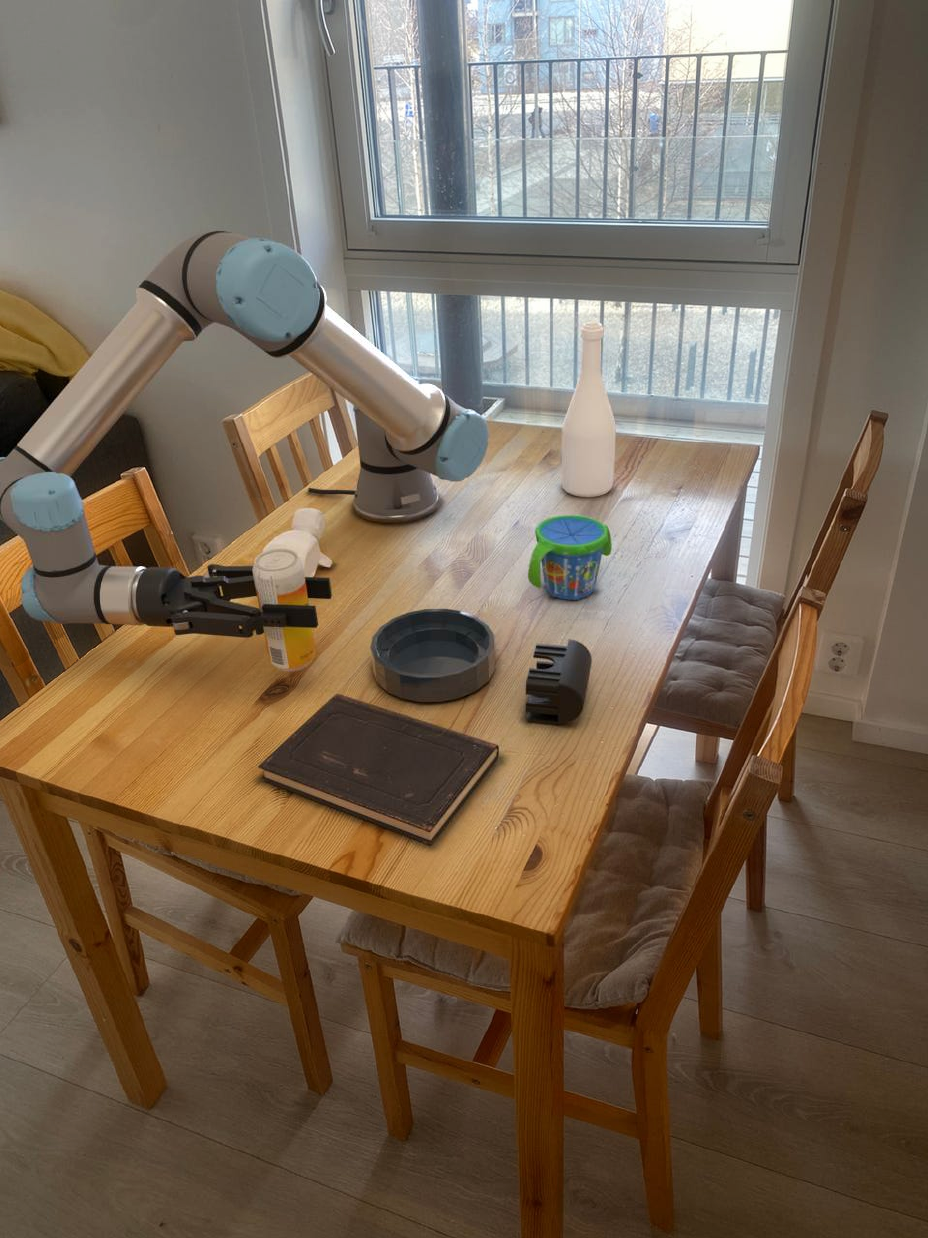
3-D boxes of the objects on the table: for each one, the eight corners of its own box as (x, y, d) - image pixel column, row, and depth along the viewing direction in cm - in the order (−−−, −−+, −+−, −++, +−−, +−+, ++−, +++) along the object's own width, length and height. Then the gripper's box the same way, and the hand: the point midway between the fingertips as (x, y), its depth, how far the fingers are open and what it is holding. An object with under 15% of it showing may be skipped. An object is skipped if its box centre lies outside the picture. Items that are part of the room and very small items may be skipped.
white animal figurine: (314, 606, 149) (345, 535, 157) (298, 572, 142) (332, 499, 150) (265, 599, 151) (299, 529, 159) (247, 565, 144) (284, 494, 152)
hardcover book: (430, 846, 100) (429, 830, 99) (261, 780, 110) (258, 765, 109) (499, 757, 112) (499, 742, 111) (340, 705, 122) (338, 690, 120)
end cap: (582, 731, 115) (584, 686, 112) (525, 725, 117) (525, 680, 113) (591, 683, 124) (592, 640, 120) (537, 678, 125) (537, 635, 121)
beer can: (324, 651, 124) (310, 550, 116) (303, 677, 119) (286, 573, 111) (283, 644, 126) (266, 544, 118) (261, 669, 121) (241, 567, 113)
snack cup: (587, 560, 151) (589, 503, 146) (632, 587, 144) (635, 527, 138) (508, 591, 144) (507, 531, 139) (551, 620, 137) (551, 558, 131)
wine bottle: (583, 473, 181) (588, 313, 165) (623, 486, 175) (632, 322, 159) (550, 489, 175) (552, 325, 159) (590, 503, 169) (596, 335, 153)
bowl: (348, 678, 127) (345, 650, 124) (426, 623, 138) (424, 596, 135) (444, 721, 118) (442, 692, 116) (519, 659, 129) (518, 631, 126)
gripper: (181, 584, 130) (344, 589, 127) (121, 663, 114) (306, 671, 111) (169, 535, 126) (338, 539, 123) (106, 611, 110) (297, 617, 107)
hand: (322, 602), depth 117 cm, fingers closed on beer can, 6 cm apart
